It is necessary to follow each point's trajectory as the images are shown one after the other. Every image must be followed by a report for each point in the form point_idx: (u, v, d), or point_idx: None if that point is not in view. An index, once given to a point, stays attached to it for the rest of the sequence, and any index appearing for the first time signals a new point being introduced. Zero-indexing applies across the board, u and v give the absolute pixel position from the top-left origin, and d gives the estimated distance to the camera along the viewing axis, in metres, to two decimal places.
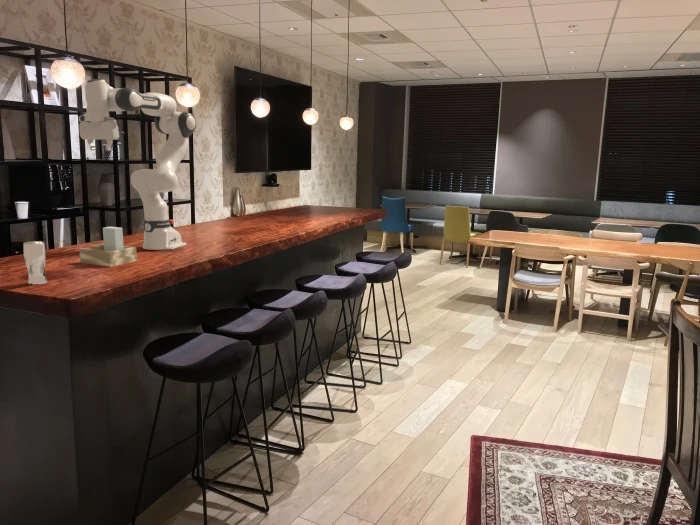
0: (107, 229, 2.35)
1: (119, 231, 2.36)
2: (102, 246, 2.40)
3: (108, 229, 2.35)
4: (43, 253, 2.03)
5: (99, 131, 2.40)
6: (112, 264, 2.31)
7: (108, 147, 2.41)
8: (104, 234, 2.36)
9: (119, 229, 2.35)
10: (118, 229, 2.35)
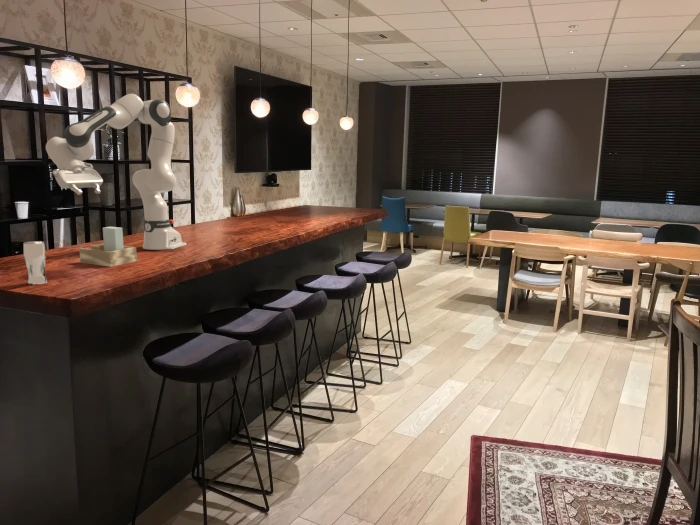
0: (107, 229, 2.35)
1: (119, 231, 2.36)
2: (102, 246, 2.40)
3: (108, 229, 2.35)
4: (43, 253, 2.03)
5: None
6: (112, 264, 2.31)
7: (76, 192, 2.34)
8: (104, 234, 2.36)
9: (119, 229, 2.35)
10: (118, 229, 2.35)
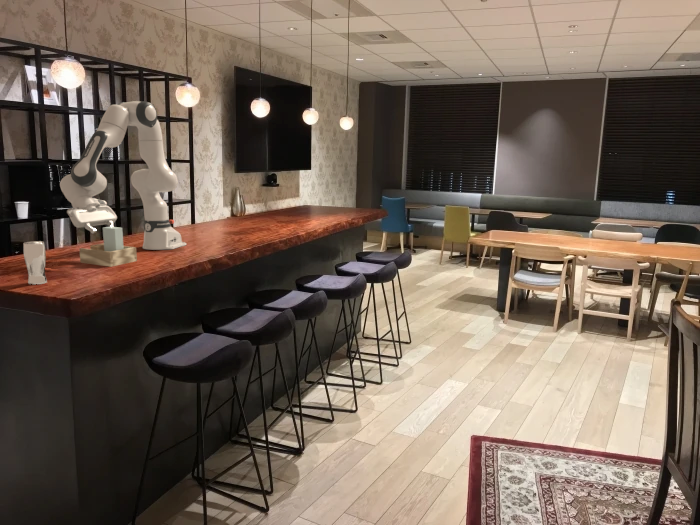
0: (107, 229, 2.35)
1: (119, 231, 2.36)
2: (102, 246, 2.40)
3: (108, 229, 2.35)
4: (43, 253, 2.03)
5: None
6: (112, 264, 2.31)
7: (91, 231, 2.34)
8: (104, 234, 2.36)
9: (119, 229, 2.35)
10: (118, 229, 2.35)
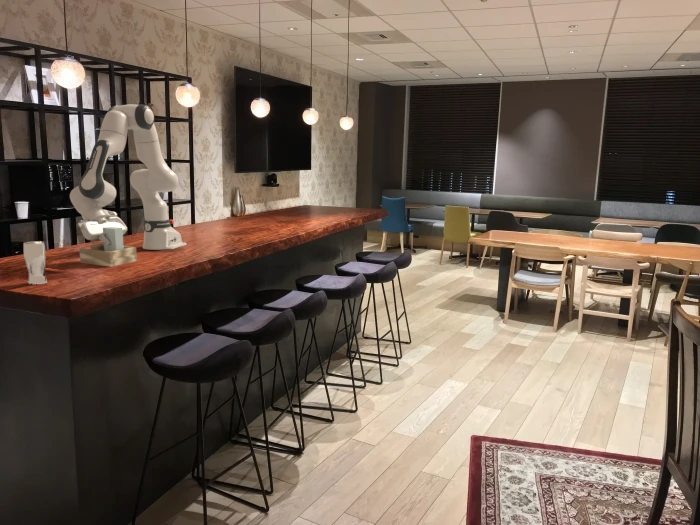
0: (107, 229, 2.35)
1: (119, 231, 2.36)
2: (102, 246, 2.40)
3: (108, 229, 2.35)
4: (43, 253, 2.03)
5: None
6: (112, 264, 2.31)
7: (105, 242, 2.35)
8: (104, 234, 2.36)
9: (119, 229, 2.35)
10: (118, 229, 2.35)
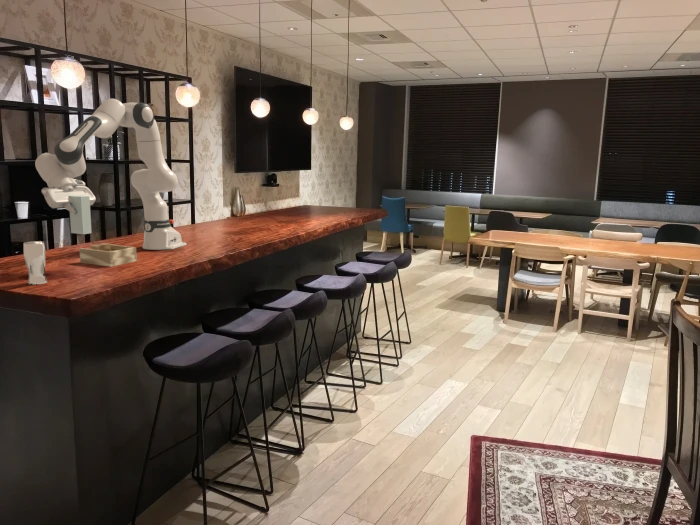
0: (73, 197, 2.23)
1: (86, 199, 2.24)
2: (102, 246, 2.40)
3: (74, 197, 2.23)
4: (43, 253, 2.03)
5: None
6: (112, 264, 2.31)
7: (71, 211, 2.23)
8: (70, 203, 2.25)
9: (86, 197, 2.24)
10: (85, 197, 2.23)
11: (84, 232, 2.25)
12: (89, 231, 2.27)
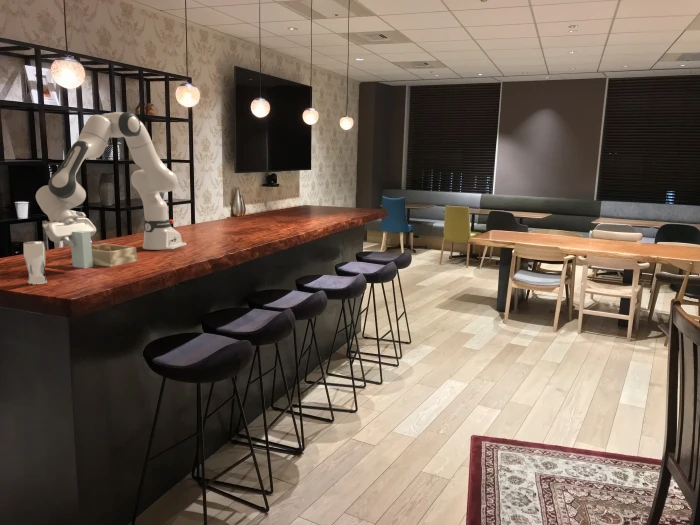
0: (74, 233, 2.26)
1: (87, 235, 2.26)
2: (102, 246, 2.40)
3: (75, 233, 2.26)
4: (43, 253, 2.03)
5: None
6: (112, 264, 2.31)
7: (70, 245, 2.24)
8: (71, 238, 2.27)
9: (87, 233, 2.26)
10: (86, 233, 2.26)
11: (85, 267, 2.27)
12: (90, 265, 2.30)
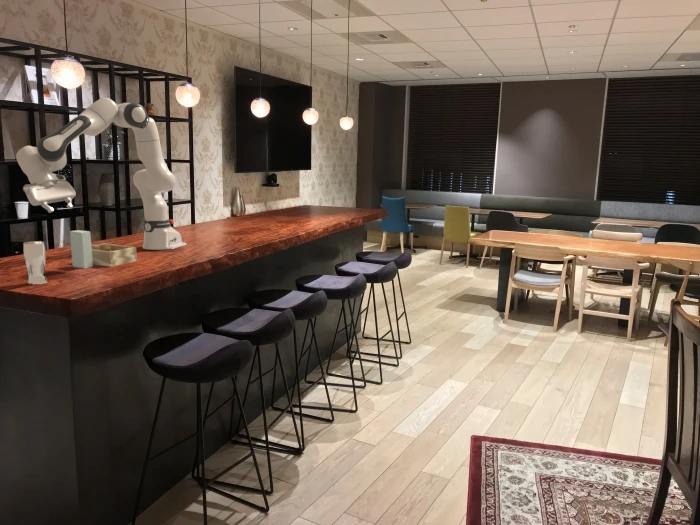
0: (74, 233, 2.26)
1: (87, 235, 2.26)
2: (102, 246, 2.40)
3: (75, 233, 2.26)
4: (43, 253, 2.03)
5: None
6: (112, 264, 2.31)
7: (48, 210, 2.29)
8: (71, 238, 2.27)
9: (87, 233, 2.26)
10: (86, 233, 2.26)
11: (85, 267, 2.27)
12: (90, 265, 2.30)
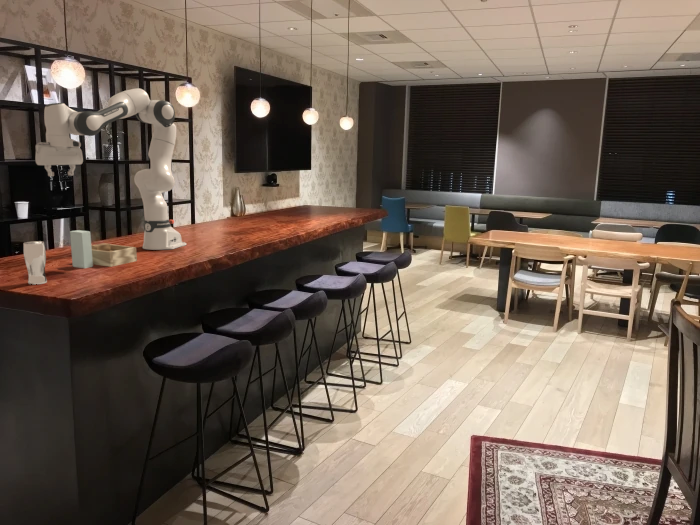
0: (74, 233, 2.26)
1: (87, 235, 2.26)
2: (102, 246, 2.40)
3: (75, 233, 2.26)
4: (43, 253, 2.03)
5: None
6: (112, 264, 2.31)
7: (48, 173, 2.32)
8: (71, 238, 2.27)
9: (87, 233, 2.26)
10: (86, 233, 2.26)
11: (85, 267, 2.27)
12: (90, 265, 2.30)
